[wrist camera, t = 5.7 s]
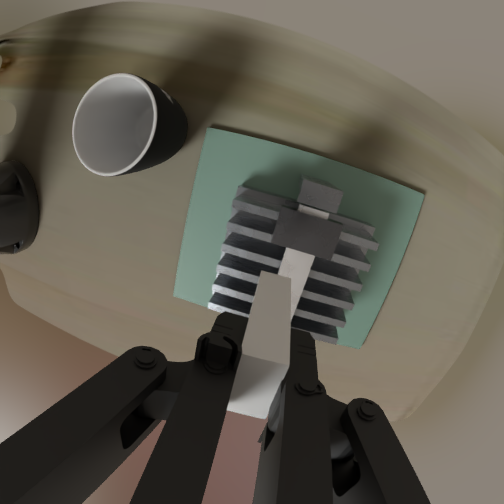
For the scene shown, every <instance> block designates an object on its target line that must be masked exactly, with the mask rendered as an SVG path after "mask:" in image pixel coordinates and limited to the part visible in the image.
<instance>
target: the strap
mask: <svg viewBox="0 0 504 504" xmlns="http://www.w3.org/2000/svg"><path fill="white" fill-rule="evenodd" d="M328 216H329V212H328V211H325V210H322V209H319V208H315V207H312V206H309V205H306V204H302V203H299V206H298V209H297V208H293V207H290V206H287V205H283V204H282V206H281V209H280V213H279V216H278V220H277V223H276V226H275V230H274V233H273V237H272V240H271V243H273V244H277V245H280V246H284V247H286V249H285V252H284V255H283V258H282V261H281V265H280V268H279V271H278V274H277V275H280V276H284V277H288V278H291V320H292V317H293V315H294V312H295V310H296V307H297V304H298V302H299V299H300V296H301V294H302V291H303V288H304V286H305V283H306V280H307V277H308V275H309V272H310V269H311V266H312V263H313V261H314V258H315V256H317V257H320V258H324V259H327V260H330V261H331V259H332V257H333V254H334V251H335V248H336V246H337V243H338V240H339V237H340V234H341V232H342V229H343V224H342V222H338V221H335V220H332V219H329V218H328Z"/></svg>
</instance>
